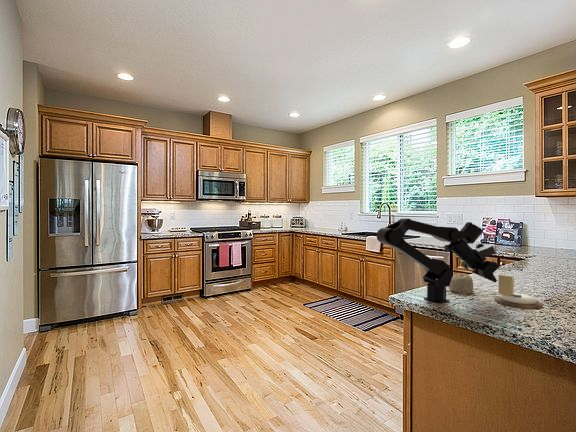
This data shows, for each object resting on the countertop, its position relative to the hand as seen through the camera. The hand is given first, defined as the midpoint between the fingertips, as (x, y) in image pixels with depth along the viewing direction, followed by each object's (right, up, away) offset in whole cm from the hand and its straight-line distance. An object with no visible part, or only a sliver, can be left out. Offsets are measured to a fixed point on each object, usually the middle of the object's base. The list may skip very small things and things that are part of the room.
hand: (495, 281), depth 116 cm
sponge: (-5, -7, +15) cm, 17 cm away
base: (+5, -7, -4) cm, 10 cm away
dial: (+5, -6, -4) cm, 9 cm away
